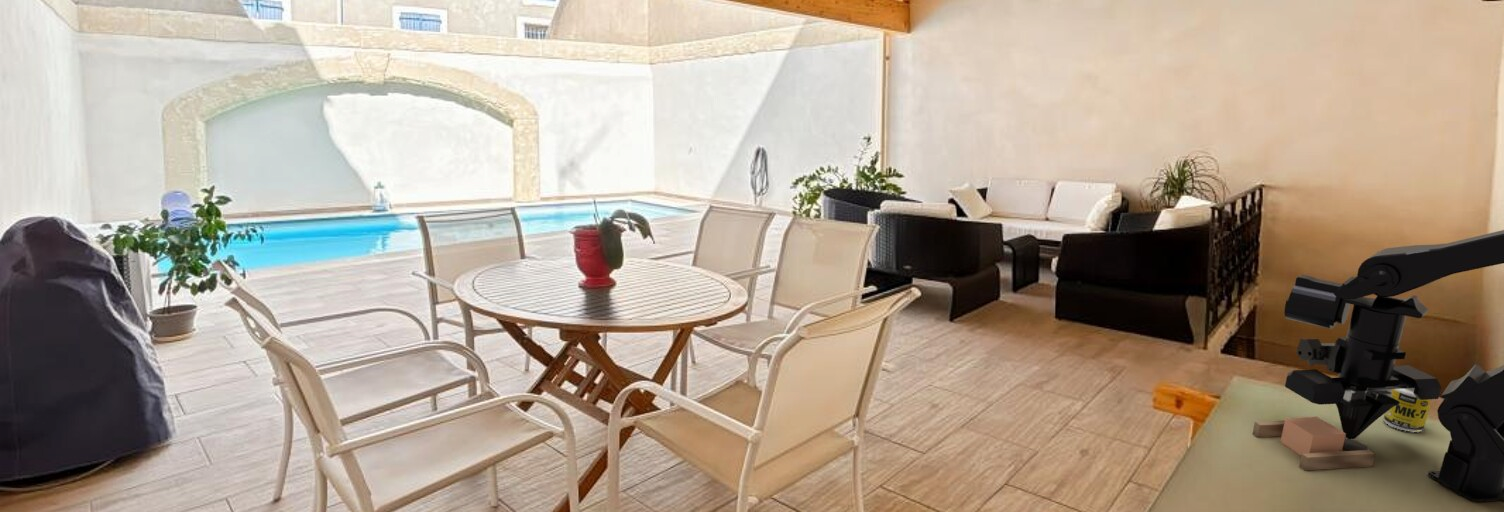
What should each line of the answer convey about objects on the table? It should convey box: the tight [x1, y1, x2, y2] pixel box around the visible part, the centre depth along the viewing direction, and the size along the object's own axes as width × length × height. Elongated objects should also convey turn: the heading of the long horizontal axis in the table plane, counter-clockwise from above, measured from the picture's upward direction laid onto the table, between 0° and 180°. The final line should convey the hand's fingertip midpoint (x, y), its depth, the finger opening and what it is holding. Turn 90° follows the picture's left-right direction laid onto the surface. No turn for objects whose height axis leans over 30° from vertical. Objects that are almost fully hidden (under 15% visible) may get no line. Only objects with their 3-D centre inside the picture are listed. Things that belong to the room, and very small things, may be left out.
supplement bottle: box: [1383, 388, 1433, 432], centre depth 114 cm, size 5×5×8 cm
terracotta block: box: [1280, 416, 1346, 456], centre depth 108 cm, size 5×5×4 cm
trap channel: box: [1252, 419, 1376, 471], centre depth 109 cm, size 13×10×2 cm
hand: (1349, 437), depth 109 cm, fingers closed
